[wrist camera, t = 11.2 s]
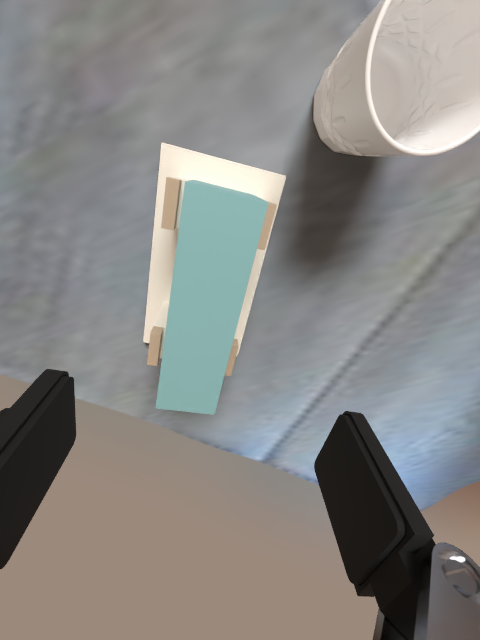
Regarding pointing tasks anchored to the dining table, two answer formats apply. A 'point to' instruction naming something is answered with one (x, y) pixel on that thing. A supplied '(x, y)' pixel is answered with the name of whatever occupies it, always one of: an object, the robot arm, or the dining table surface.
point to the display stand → (171, 181)
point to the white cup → (404, 81)
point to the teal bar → (207, 292)
